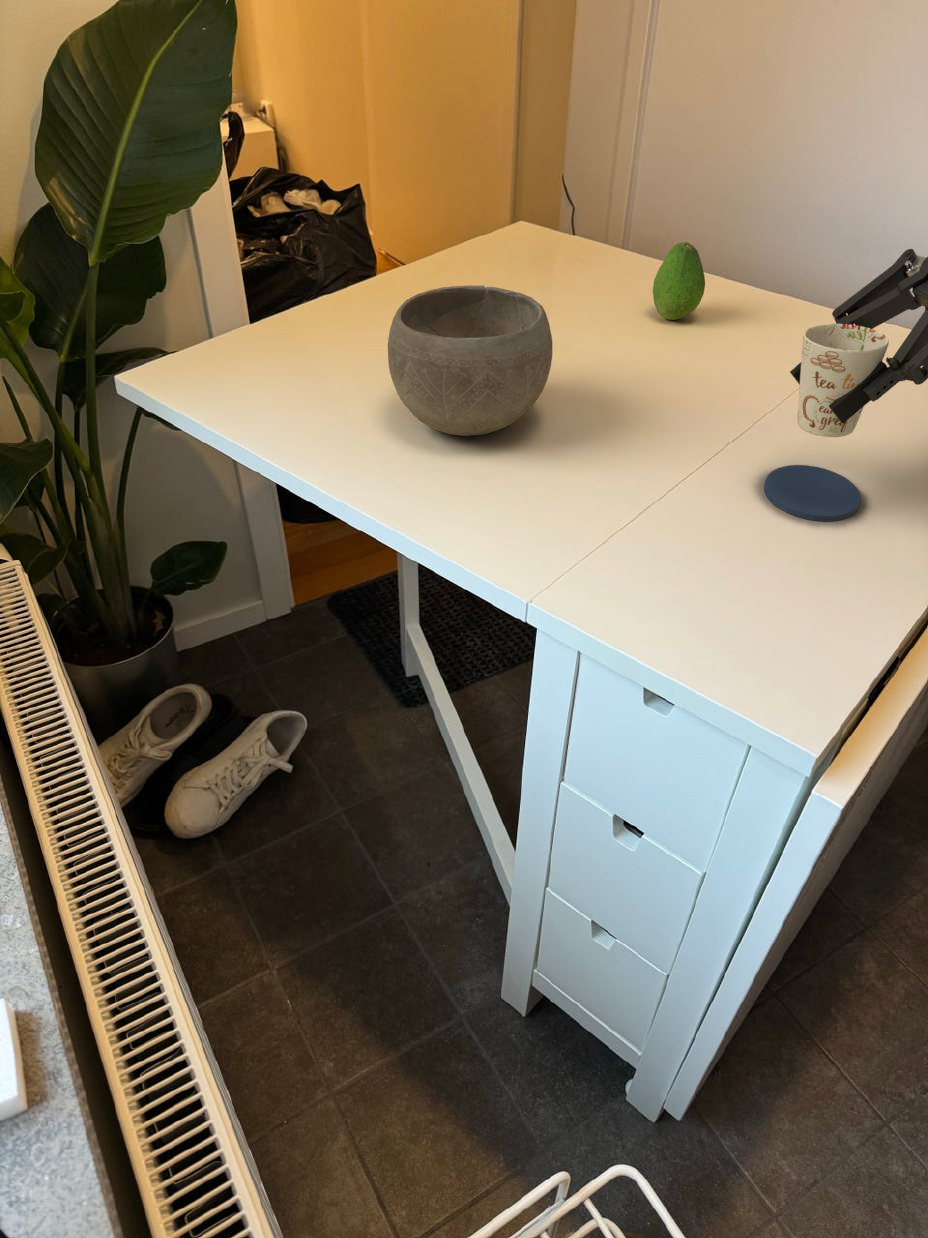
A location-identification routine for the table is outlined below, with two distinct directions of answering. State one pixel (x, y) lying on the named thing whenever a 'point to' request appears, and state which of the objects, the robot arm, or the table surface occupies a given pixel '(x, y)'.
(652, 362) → the table surface
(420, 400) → the bowl
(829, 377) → the mug
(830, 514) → the coaster
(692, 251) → the fruit
